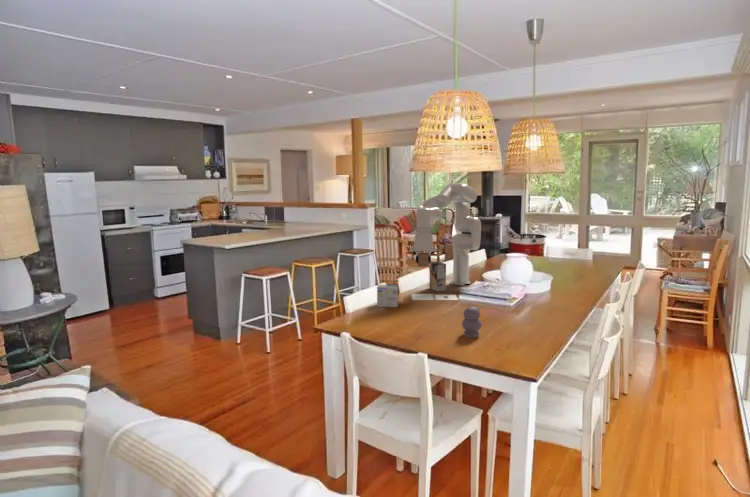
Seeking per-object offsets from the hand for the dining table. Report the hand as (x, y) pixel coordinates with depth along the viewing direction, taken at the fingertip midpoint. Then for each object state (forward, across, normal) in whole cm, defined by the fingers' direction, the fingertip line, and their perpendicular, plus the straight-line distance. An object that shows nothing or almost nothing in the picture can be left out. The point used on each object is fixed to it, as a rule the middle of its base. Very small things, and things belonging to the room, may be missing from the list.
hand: (423, 262), depth 254 cm
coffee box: (+20, +10, +20) cm, 30 cm away
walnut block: (+1, 0, 0) cm, 1 cm away
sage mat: (+19, 0, 0) cm, 19 cm away
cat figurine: (+20, +16, -64) cm, 69 cm away
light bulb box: (+20, -19, -18) cm, 33 cm away
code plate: (+19, +13, 0) cm, 23 cm away
